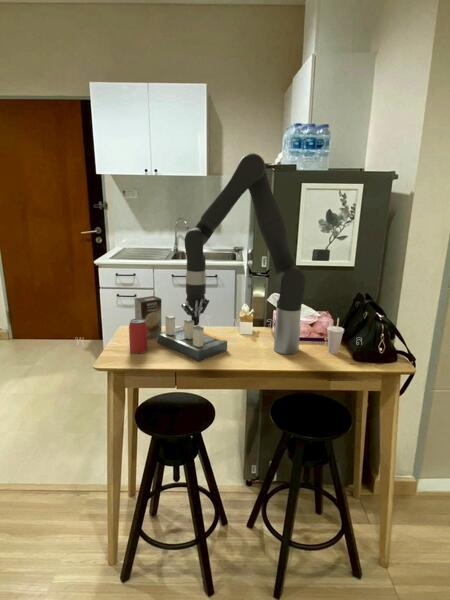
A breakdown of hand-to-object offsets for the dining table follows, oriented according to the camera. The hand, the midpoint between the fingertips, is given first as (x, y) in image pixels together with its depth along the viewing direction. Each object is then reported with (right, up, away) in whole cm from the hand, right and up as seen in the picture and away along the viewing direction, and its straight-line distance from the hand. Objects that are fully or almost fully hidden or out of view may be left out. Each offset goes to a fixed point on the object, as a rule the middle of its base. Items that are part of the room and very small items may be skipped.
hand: (195, 324), depth 158 cm
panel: (-2, -9, +1) cm, 9 cm away
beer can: (-21, -10, -4) cm, 24 cm away
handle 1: (-10, -4, +2) cm, 11 cm away
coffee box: (-20, -5, +11) cm, 24 cm away
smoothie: (+54, -11, 0) cm, 55 cm away
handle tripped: (-2, -5, -1) cm, 5 cm away
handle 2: (+2, -7, -8) cm, 11 cm away
